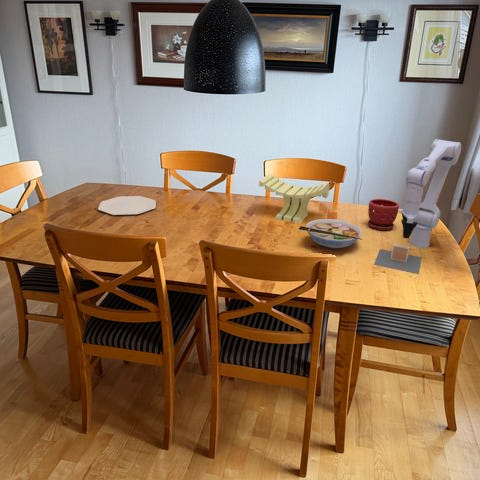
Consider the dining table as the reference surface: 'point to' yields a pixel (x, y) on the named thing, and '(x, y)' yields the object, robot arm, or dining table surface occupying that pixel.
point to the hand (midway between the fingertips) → (405, 234)
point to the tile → (400, 252)
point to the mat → (398, 262)
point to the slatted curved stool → (293, 197)
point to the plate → (127, 205)
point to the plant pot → (382, 213)
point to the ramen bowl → (332, 232)
